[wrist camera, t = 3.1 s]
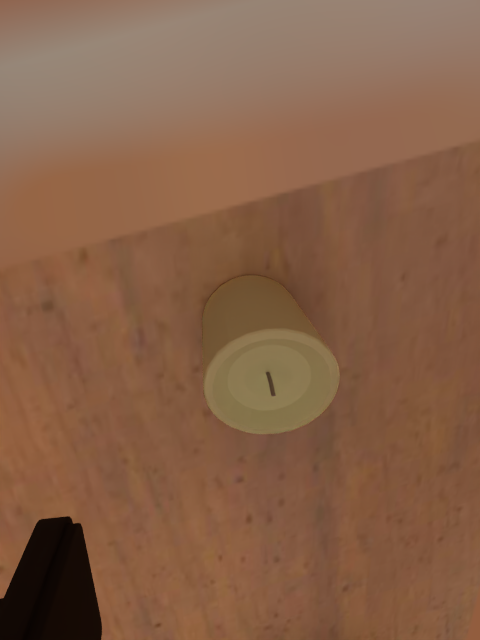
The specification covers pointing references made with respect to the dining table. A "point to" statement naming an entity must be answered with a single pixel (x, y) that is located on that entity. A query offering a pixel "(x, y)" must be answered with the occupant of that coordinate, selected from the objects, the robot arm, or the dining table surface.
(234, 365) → the candle
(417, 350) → the dining table surface
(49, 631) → the robot arm
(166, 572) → the dining table surface
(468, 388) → the dining table surface
